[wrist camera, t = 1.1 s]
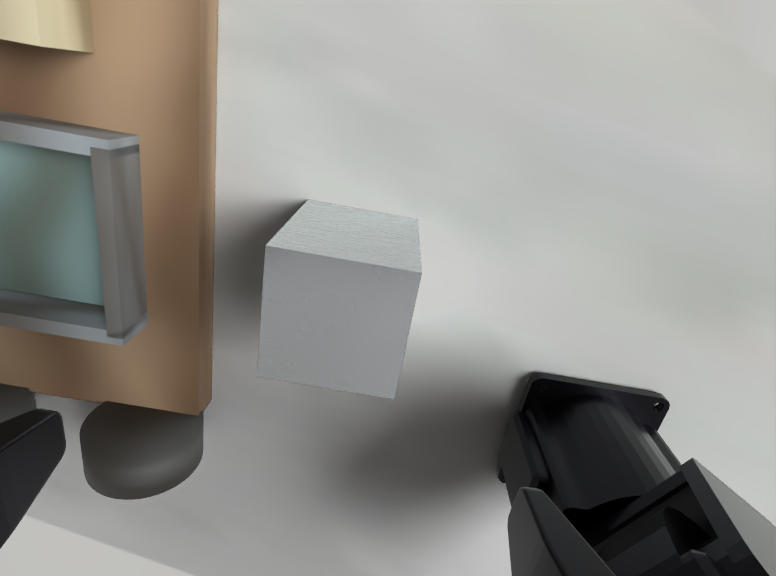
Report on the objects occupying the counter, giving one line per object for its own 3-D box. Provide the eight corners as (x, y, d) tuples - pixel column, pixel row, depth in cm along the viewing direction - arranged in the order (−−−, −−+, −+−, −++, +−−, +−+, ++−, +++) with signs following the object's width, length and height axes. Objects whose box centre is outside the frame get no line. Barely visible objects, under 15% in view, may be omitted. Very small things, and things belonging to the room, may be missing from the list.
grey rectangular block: (417, 218, 18) (421, 272, 13) (397, 315, 20) (394, 399, 15) (308, 199, 18) (265, 245, 13) (298, 298, 20) (257, 376, 15)
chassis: (235, -222, 13) (149, -375, 9) (218, 428, 23) (174, 508, 19) (-210, -313, 13) (-527, -520, 9) (-36, 387, 23) (-142, 458, 18)
